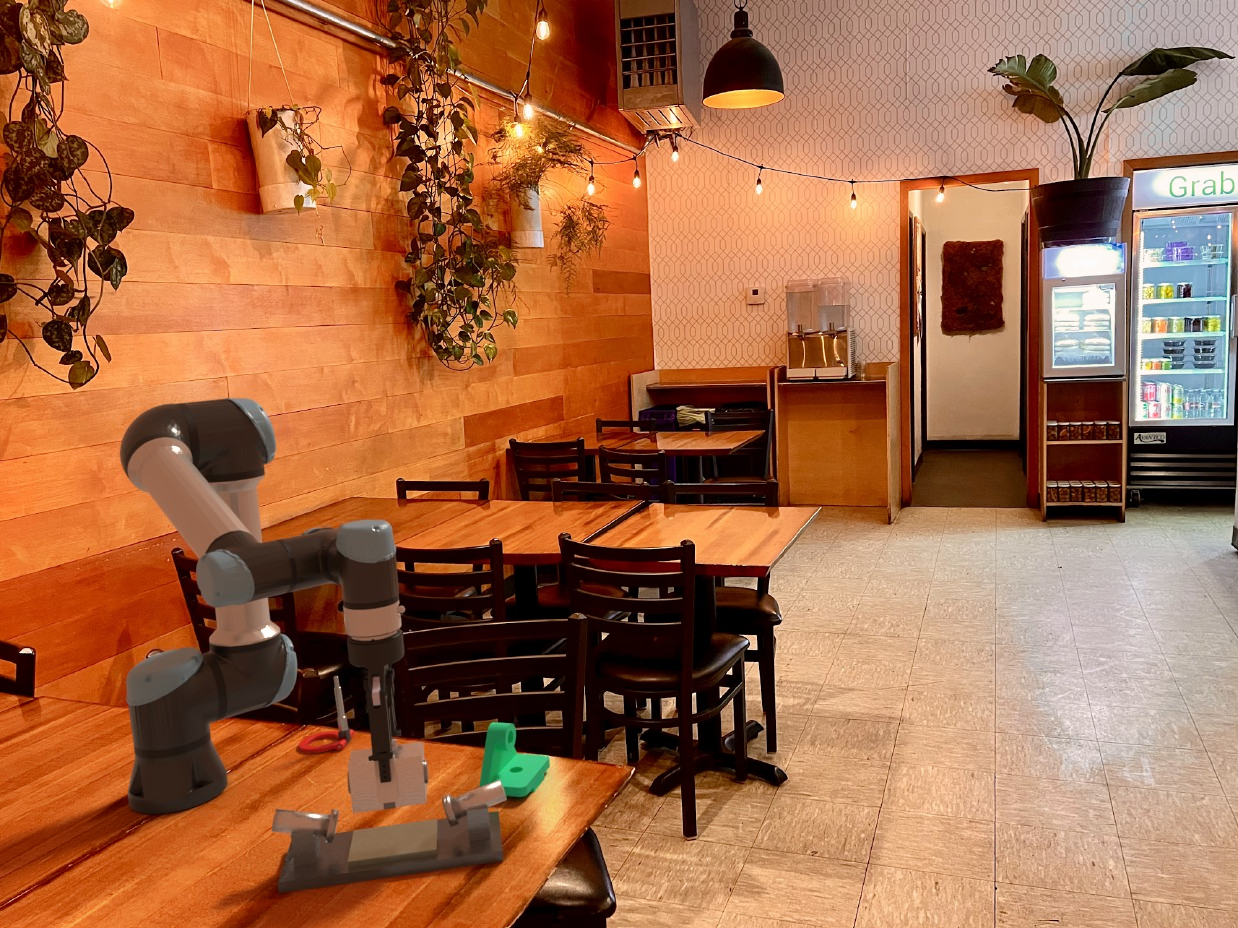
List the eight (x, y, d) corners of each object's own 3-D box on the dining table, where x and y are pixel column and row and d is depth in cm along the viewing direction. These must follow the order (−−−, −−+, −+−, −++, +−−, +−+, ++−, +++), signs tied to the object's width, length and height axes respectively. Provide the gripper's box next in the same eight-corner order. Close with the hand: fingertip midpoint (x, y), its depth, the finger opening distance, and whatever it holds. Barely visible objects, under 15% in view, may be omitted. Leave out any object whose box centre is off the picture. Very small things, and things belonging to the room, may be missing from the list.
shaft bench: (269, 894, 132) (262, 831, 131) (283, 849, 144) (277, 791, 143) (512, 859, 137) (507, 798, 136) (507, 819, 149) (502, 762, 148)
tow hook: (292, 757, 178) (342, 752, 178) (281, 688, 177) (332, 684, 176) (309, 738, 187) (357, 734, 186) (299, 672, 185) (347, 668, 185)
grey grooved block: (349, 814, 136) (344, 765, 135) (353, 797, 141) (348, 750, 140) (429, 803, 138) (424, 754, 137) (429, 787, 143) (425, 740, 142)
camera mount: (525, 803, 154) (520, 740, 153) (480, 800, 156) (475, 738, 155) (552, 770, 166) (547, 711, 164) (509, 767, 168) (505, 709, 167)
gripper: (399, 649, 128) (414, 818, 131) (405, 612, 146) (418, 762, 149) (339, 655, 127) (356, 826, 130) (352, 617, 145) (367, 768, 148)
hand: (389, 791), depth 139 cm, fingers closed on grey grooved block, 5 cm apart
